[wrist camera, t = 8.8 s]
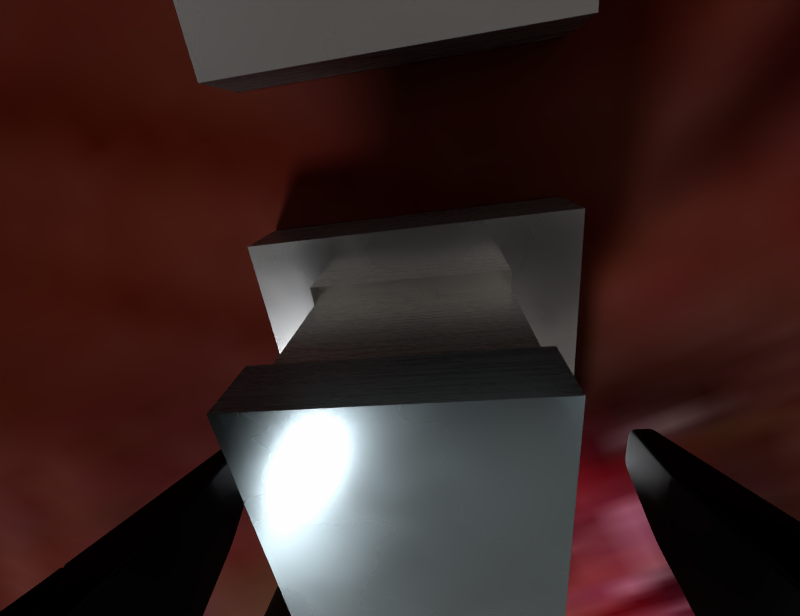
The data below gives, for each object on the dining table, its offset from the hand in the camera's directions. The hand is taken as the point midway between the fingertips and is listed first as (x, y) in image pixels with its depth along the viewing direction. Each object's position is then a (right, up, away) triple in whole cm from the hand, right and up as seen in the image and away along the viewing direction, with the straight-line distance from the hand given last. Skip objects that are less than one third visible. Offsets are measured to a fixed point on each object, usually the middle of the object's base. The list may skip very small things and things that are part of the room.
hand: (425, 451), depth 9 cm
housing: (0, +1, +3) cm, 3 cm away
